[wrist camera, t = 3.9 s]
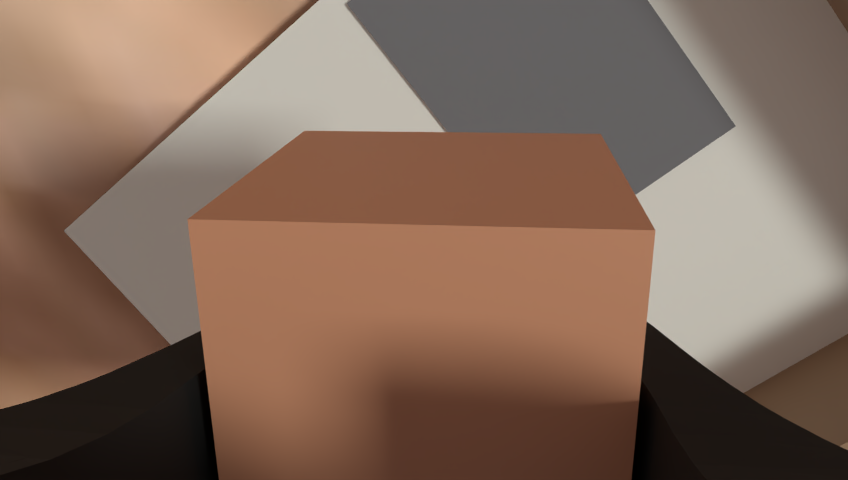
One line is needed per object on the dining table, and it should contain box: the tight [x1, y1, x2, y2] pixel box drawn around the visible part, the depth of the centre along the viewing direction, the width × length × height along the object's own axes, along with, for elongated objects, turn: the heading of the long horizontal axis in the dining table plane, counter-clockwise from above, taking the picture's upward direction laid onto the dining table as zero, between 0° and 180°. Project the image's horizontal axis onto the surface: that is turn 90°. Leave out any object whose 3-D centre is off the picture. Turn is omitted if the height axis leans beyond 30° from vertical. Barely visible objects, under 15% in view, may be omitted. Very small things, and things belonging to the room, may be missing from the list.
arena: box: [64, 0, 848, 450], centre depth 18 cm, size 16×20×4 cm
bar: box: [187, 131, 655, 480], centre depth 10 cm, size 7×4×4 cm, turn 1°
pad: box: [347, 0, 735, 195], centre depth 18 cm, size 8×6×1 cm
